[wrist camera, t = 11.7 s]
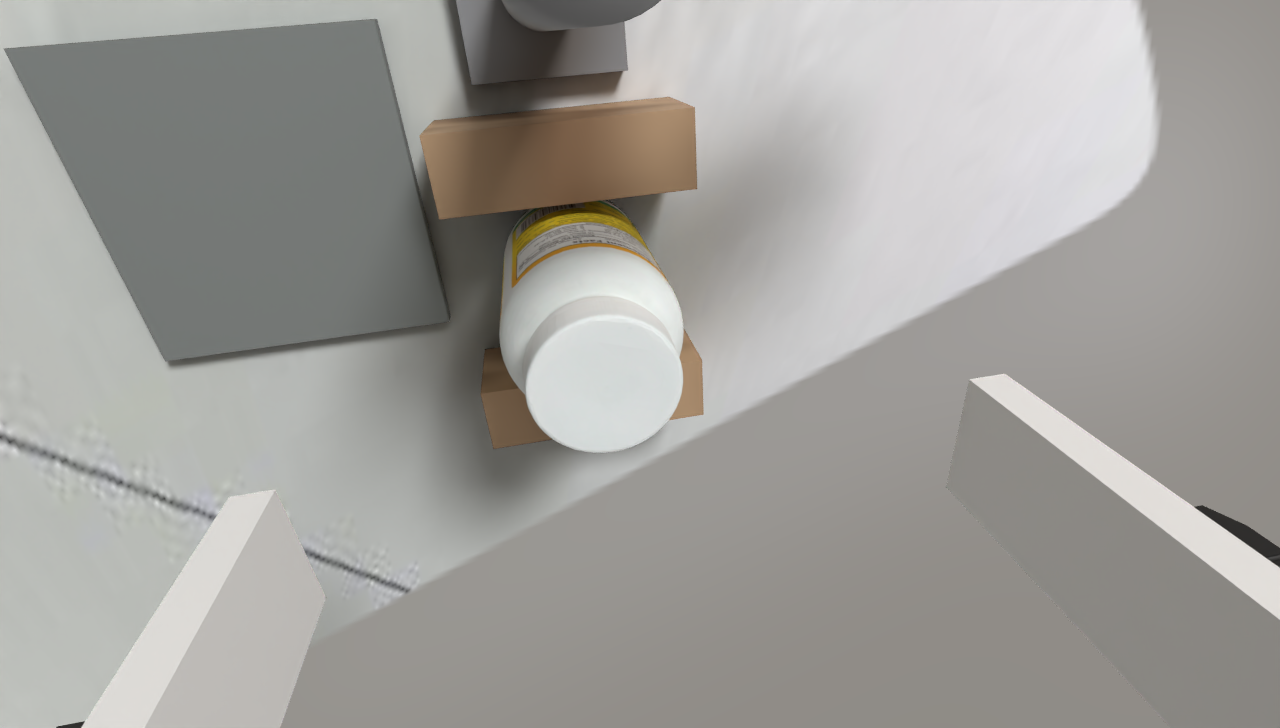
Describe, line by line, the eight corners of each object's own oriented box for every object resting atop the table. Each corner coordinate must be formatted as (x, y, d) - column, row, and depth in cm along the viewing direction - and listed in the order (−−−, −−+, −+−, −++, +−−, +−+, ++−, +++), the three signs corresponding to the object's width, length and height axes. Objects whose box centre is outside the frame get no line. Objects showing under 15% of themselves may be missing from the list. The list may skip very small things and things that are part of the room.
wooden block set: (496, 399, 26) (493, 448, 23) (383, -105, 17) (355, -134, 14) (682, 370, 27) (703, 414, 24) (659, -120, 18) (687, -151, 15)
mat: (172, 354, 22) (165, 361, 22) (16, 48, 17) (3, 48, 17) (450, 316, 24) (449, 321, 23) (376, 19, 19) (373, 18, 18)
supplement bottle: (536, 166, 22) (549, 249, 13) (667, 226, 23) (750, 333, 15) (482, 297, 23) (463, 442, 15) (607, 344, 25) (652, 495, 17)
